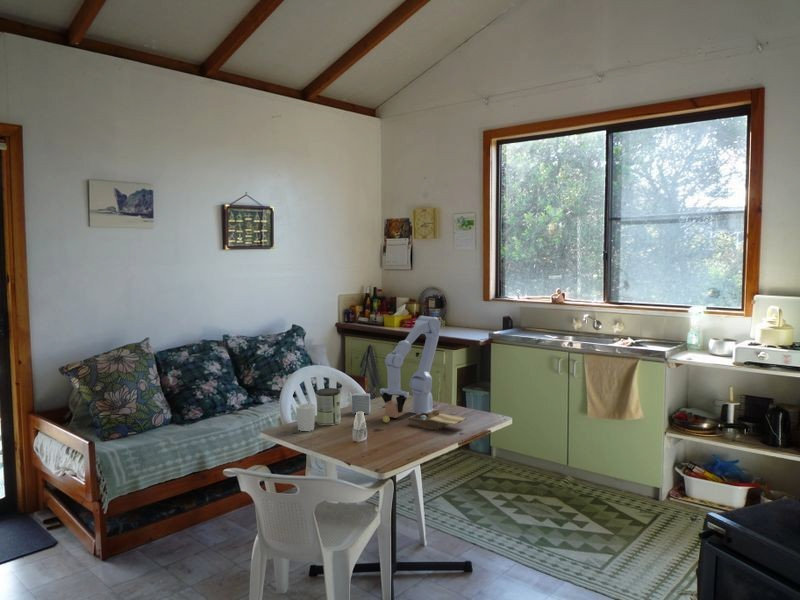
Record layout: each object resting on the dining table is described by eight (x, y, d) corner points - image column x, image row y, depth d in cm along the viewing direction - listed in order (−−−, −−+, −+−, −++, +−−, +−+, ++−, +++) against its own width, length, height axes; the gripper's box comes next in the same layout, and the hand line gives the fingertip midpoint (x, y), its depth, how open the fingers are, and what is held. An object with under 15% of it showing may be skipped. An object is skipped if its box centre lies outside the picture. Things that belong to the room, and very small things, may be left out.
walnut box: (421, 419, 271) (421, 412, 271) (449, 424, 263) (449, 416, 263) (408, 424, 263) (408, 417, 263) (436, 430, 255) (436, 422, 254)
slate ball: (422, 420, 269) (422, 413, 269) (428, 421, 267) (428, 414, 267) (418, 422, 266) (418, 415, 266) (424, 423, 265) (424, 416, 264)
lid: (438, 414, 266) (438, 407, 265) (466, 419, 258) (466, 412, 257) (425, 419, 258) (425, 412, 257) (454, 425, 249) (454, 417, 249)
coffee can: (318, 419, 273) (317, 388, 271) (341, 419, 273) (340, 387, 272) (315, 426, 262) (314, 393, 261) (340, 425, 263) (339, 393, 262)
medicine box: (370, 411, 285) (370, 393, 284) (369, 414, 280) (368, 395, 279) (353, 411, 285) (353, 393, 285) (352, 414, 281) (351, 395, 280)
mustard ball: (385, 421, 269) (385, 414, 268) (391, 422, 267) (391, 415, 267) (381, 422, 266) (381, 416, 266) (387, 424, 264) (386, 417, 264)
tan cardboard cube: (392, 412, 277) (392, 399, 276) (403, 414, 274) (402, 401, 273) (385, 415, 272) (385, 402, 272) (395, 417, 269) (395, 404, 268)
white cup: (319, 429, 258) (318, 405, 257) (304, 433, 252) (303, 409, 251) (307, 425, 263) (307, 402, 262) (292, 429, 258) (292, 406, 257)
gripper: (375, 380, 273) (375, 410, 274) (402, 384, 264) (402, 415, 265) (385, 377, 278) (385, 407, 280) (411, 381, 270) (411, 411, 271)
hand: (394, 411), depth 273 cm, fingers closed on tan cardboard cube, 5 cm apart
